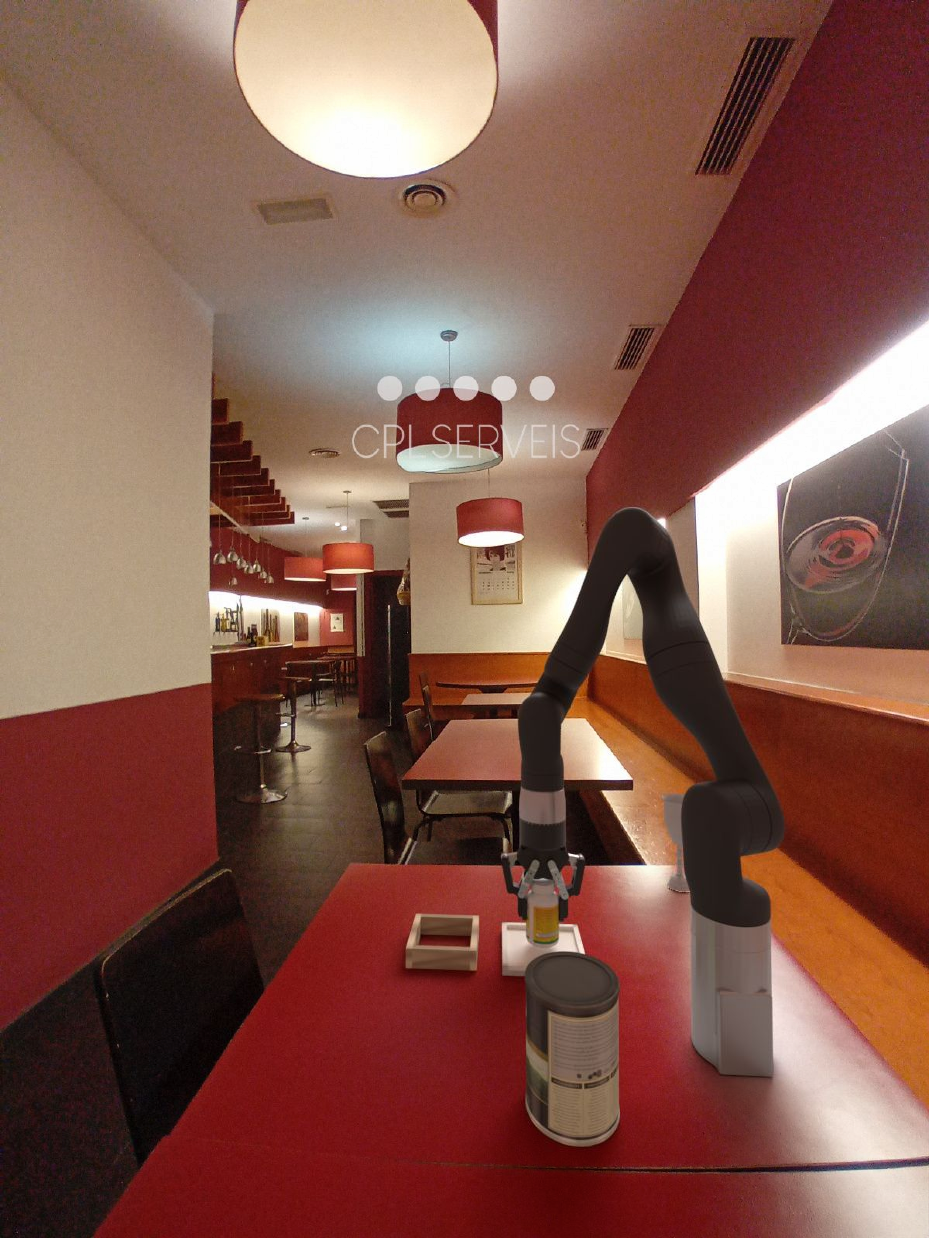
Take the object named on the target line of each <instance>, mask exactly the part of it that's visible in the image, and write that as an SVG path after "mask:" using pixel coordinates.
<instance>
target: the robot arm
mask: <svg viewBox="0 0 929 1238" xmlns="http://www.w3.org/2000/svg"><path fill="white" fill-rule="evenodd" d="M681 572H682V571H681V568H680V566H679V560H678V555H677V553H676V549H675V545H674V541H673V539H672V537H671V534H670V532H669V531H668V530H667V528H666V527H664V525H662V524H661V522H659V521H658V520H657V519H656V518H655V517H654V516H652V515H651V514H650V513H649V512H648V511H646V510H645V509H644V508H640V507H635V506H633V507H632V506H631V507H630V506H629V507H624V508H622V509H620V510H618V511H616V512H615V513H614V514H612V515H611V516H610V518H608V519H607V521H606V522H605V524H604V526H603V528H602V530H601V533H600V534H599V536H598V540H597V542H596V544H595V548H594V551H593V554H592V556H591V559H590V562H589V565H588V568H587V570H586V574H585V576H584V578H583V581H582V584H581V587H580V589H579V593H578V594H577V598H576V601H575V602H574V606H573V608H572V610H571V613H570V615H569V617H568V619H567V621H566V623H565V625H564V627H563V629H562V631H561V633H560V634H559V637H558V638H557V640H556V642H555V643H554V646H553V648H552V649H551V651H550V654H549V655H548V657H547V659H546V662H545V664H544V668H543V672H542V674H541V675H540V677H539V679H538V681H537V683H536V684H535V686H534V688H533V690H532V691H531V693H530V694H529V696H528V697H526V698H525V699H524V700H523V701H522V702H521V704H520V706H519V708H518V714H517V733H518V741H519V749H520V755H521V759H520V760H521V762H520V793H519V806H518V811H519V813H518V814H519V846H518V847H517V850H516V851H515V852H514V851H513V852H508V851H503V852H501V854H500V861H501V862H500V863H501V869H502V873H503V876H504V877H503V878H504V884H505V888H506V893H508V894H510V895H515V896H516V897H517V915H518V917H519V918H521V921H522V922H524V921H525V922H526V896H527V893H528V890H529V888H530V885H531V882H532V880H533V879H542V878H544V879H548V880H553V879H554V881H555V887H556V888H557V889H558V892H559V893H558V894H557V895H558V897H559V923H565V919H568V917H569V899H570V897H572V896H573V897H574V896H575V897H579V895H580V894H581V889H582V884H583V879H584V875H585V869H586V863H587V862H586V860H585V857H584V855H583V854H582V853H577V854H572V853H569V852H568V849H567V835H566V834H567V832H566V831H567V828H566V827H567V826H566V823H567V822H566V821H567V817H566V816H567V815H566V813H567V812H566V811H567V809H566V805H567V804H566V802H567V801H566V796H565V795H566V794H565V765H564V764H565V763H564V757H563V755H562V753H561V752H562V751H561V749H562V746H561V745H562V724H563V723H564V721H565V719H566V717H567V714H568V713H569V711H570V709H571V706H572V704H573V702H574V700H575V697H576V696H577V693H578V692H579V689H581V687H582V685H583V684H584V683H585V682H586V680H587V678H588V676H589V674H590V673H591V671H592V669H593V668H594V666H595V664H596V662H597V660H598V658H599V656H600V654H601V652H602V650H603V648H604V645H605V642H606V639H607V636H608V635H607V634H608V630H609V626H610V625H609V624H610V618H611V613H612V608H613V605H614V602H615V600H616V596H617V593H618V590H619V589H620V586H621V585H622V583H623V581H624V579H625V578H626V577H628V579H629V580H630V583H631V585H632V587H633V589H634V591H635V594H636V596H637V598H638V601H639V604H640V607H641V614H642V631H641V634H642V635H641V638H642V639H641V640H642V641H641V642H642V644H641V646H642V651H643V657H644V662H645V664H646V667H647V670H648V673H649V676H650V680H651V682H652V686H653V688H654V690H655V693H656V695H657V697H658V699H659V700H660V701H661V704H662V705H664V707H665V708H666V709H667V710H668V711H669V713H671V715H672V716H673V717H674V718H675V719H676V720H677V721H678V722H679V723H680V724H681V725H682V726H683V727H684V728H685V729H686V730H687V731H688V732H689V733H690V735H691V736H692V737H693V738H694V739H695V740H696V741H697V742H698V744H699V746H700V747H701V749H702V750H703V752H704V754H705V756H706V757H707V760H708V762H709V764H710V767H711V770H712V771H713V774H714V777H715V780H711V781H710V780H709V781H703V782H698V783H694V784H692V785H691V786H690V787H688V788H687V790H686V791H685V793H684V794H683V795H684V798H683V802H682V808H681V830H682V844H683V845H682V853H683V856H682V862H683V863H684V865H683V873H684V875H685V877H686V881H687V884H688V887H689V891H690V892H689V897H690V898H689V899H690V901H689V902H690V1008H691V1009H690V1011H691V1012H690V1013H691V1014H690V1016H691V1018H690V1019H691V1020H690V1021H691V1026H690V1027H691V1028H690V1029H691V1042H692V1045H693V1047H694V1049H695V1051H697V1053H698V1054H699V1055H700V1056H701V1057H702V1058H703V1059H705V1060H706V1061H707V1062H709V1063H710V1064H712V1065H713V1066H714V1067H715V1068H716V1070H717V1071H718V1073H719V1074H721V1075H728V1076H729V1075H730V1076H731V1075H732V1076H749V1077H750V1076H751V1077H752V1076H753V1077H774V1037H773V1036H774V1027H773V1025H774V1022H773V1019H774V1017H773V983H772V979H773V978H772V977H773V976H772V972H773V971H772V913H771V912H772V908H771V907H772V906H771V904H772V903H771V902H772V901H771V898H770V894H769V892H768V891H767V889H765V888H764V887H763V886H762V885H760V884H759V883H758V882H756V881H754V880H752V879H749V878H747V877H744V876H743V871H742V859H741V857H742V858H743V857H747V856H752V855H758V854H762V853H763V854H764V853H767V852H771V851H774V850H776V849H777V848H778V847H780V845H781V844H782V843H783V842H782V841H783V840H784V839H785V838H784V837H785V832H786V821H785V816H784V812H783V808H782V805H781V803H780V800H779V798H778V796H777V794H776V791H775V788H774V787H773V785H772V783H771V781H770V779H769V777H768V775H767V773H766V771H765V768H763V765H762V763H761V761H760V759H759V757H758V756H757V754H756V752H755V749H754V748H753V746H752V744H751V741H750V740H749V738H748V736H747V733H746V731H745V729H744V727H743V724H742V722H741V720H740V717H739V715H738V713H737V710H736V708H735V705H734V703H733V701H732V698H731V696H730V694H729V691H728V689H727V687H726V683H725V681H724V678H723V674H722V672H721V668H720V666H719V664H718V661H717V658H716V656H715V653H714V650H713V648H712V645H711V643H710V641H709V638H708V635H707V634H706V632H705V629H704V627H703V625H702V622H701V621H700V618H699V616H698V613H697V611H696V608H695V607H694V605H693V603H692V601H691V599H690V597H689V594H688V593H687V590H686V586H685V584H684V580H683V577H682V573H681ZM516 861H518V862H519V864H520V865H521V867H522V868H523V871H522V874H521V878H520V880H519V881H518V882H519V883H516V882H515V881H514V877H513V872H512V871H513V870H512V869H513V868H514V867H515V862H516ZM568 862H569V863H570V867H571V868H572V870H573V872H572V876H571V880H570V884H567V885H566V883H565V881H564V878H563V875H562V871H563V869H564V867H566V865H567V863H568Z"/></svg>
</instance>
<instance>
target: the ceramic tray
mask: <svg viewBox="0 0 929 1238" xmlns="http://www.w3.org/2000/svg"><path fill="white" fill-rule="evenodd" d="M580 933H581V932H580V930H579V926H578V924H572V923H571V924H568V923H567V924H566V923H565V924H564V923H559V941H558V943H557V944H556V945H555V946H553V947H550V948H541V947H536V946H533V945H531V944H530V943H529V942H528V941H527V939H526V922H506V921H502V922H501V947H502V948H501V953H502V954H501V959H502V961H501V962H502V963H501V965H502V971H501V973H502V976H509V977H525V970H526V967H527V966H528V964H529V963H530V962H531V961H532V960H533V959H535V958H536V957H538V956H540V955H543V954H546V953H551V952H559V951H570V952H578V953H582V954H586V953H585V949H584V945H583V942H582V938H581V934H580Z"/></svg>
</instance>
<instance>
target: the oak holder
mask: <svg viewBox="0 0 929 1238" xmlns="http://www.w3.org/2000/svg"><path fill="white" fill-rule="evenodd" d="M413 919H414V920H413V923H412V926H411V930H410V933H409V936H408V940H407V943H406V947H405V969H420V970H421V969H425V970H426V969H427V970H449V971H450V970H451V971H452V970H454V971H473V972H474V971H477V967H478V952H479V940H480V939H479V938H480V937H479V935H480V915H474V914H473V915H472V914H471V915H469V914H442V913H441V914H439V913H438V914H436V913H415V917H414V918H413ZM421 935H431V936H432V935H433V936H458V937H459V936H461V937H464V936H465V937H470V945H469V946H452V945H450V946H448V945H447V946H445V945H420V944H419V943H420V939H421Z"/></svg>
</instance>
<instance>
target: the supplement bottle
mask: <svg viewBox="0 0 929 1238" xmlns="http://www.w3.org/2000/svg"><path fill="white" fill-rule="evenodd" d="M529 888H530V890H529V891H527V893H526V921H525V923H526V939H527V941H528V942H529V943H530V944H531V945H533V946H536V947H541V948H550V947H553V946H555V945H556V944H557V943H558V941H559V924H560V922H559V897H558V894H557V892H556V891H555V890H556V883H555V881H554V878H553V880H548V879H544V878H542V879H533V880H532V882H531V885H530V886H529Z"/></svg>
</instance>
